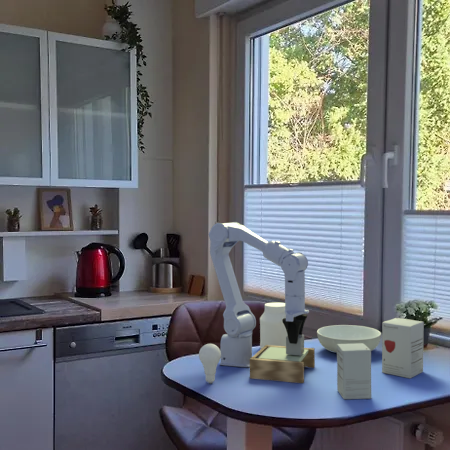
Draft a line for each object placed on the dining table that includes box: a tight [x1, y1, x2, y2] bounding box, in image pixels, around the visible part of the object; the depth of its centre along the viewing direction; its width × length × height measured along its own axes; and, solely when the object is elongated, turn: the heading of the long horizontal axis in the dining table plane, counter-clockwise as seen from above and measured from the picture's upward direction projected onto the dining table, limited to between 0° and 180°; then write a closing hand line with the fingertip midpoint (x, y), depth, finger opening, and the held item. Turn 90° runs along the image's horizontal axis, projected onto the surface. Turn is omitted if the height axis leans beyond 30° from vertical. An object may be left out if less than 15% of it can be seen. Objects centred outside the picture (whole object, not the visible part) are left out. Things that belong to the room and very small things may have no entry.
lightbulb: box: [198, 343, 221, 384], centre depth 163 cm, size 6×6×11 cm
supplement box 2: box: [381, 317, 425, 379], centre depth 171 cm, size 9×9×15 cm
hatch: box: [257, 347, 308, 362], centre depth 172 cm, size 12×13×1 cm
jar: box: [259, 301, 288, 350], centre depth 201 cm, size 12×10×15 cm
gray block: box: [286, 334, 305, 356], centre depth 171 cm, size 4×4×5 cm
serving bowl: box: [316, 324, 382, 354], centre depth 195 cm, size 21×21×7 cm
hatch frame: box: [249, 345, 316, 384], centre depth 172 cm, size 15×17×6 cm
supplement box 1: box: [336, 343, 372, 400], centre depth 152 cm, size 7×7×13 cm
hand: (295, 341), depth 171 cm, fingers closed on gray block, 4 cm apart
